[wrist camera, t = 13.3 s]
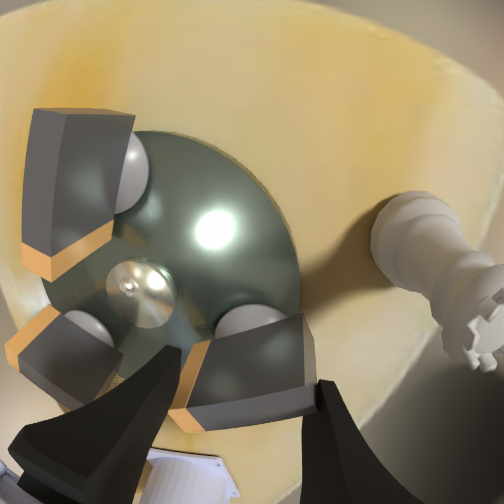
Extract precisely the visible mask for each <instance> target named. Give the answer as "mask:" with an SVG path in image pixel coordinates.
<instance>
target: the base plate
mask: <svg viewBox="0 0 504 504" xmlns="http://www.w3.org/2000/svg"><path fill="white" fill-rule="evenodd" d="M134 133H135V134H136V135H137V136H138V137H139V139H140V140H141V141H142V143H143V145H144V147H145V149H146V151H147V155H148V159H149V168H150V171H149V180H148V184H147V187H146V189H145V192H144V194H143V195H142V197H141V198H140V200H139V201H138V202H137V203H136V204H135V205H134V206H132V207H131V208H129V209H128V210H126V211H124V212H121V213H118V214H114V219H113V220H114V223H113V230H112V237H111V240H110V241H108V242H107V243H105V244H104V245H102V246H101V247H99V248H98V249H97V250H95V251H94V252H92V253H91V254H90V255H88V256H87V257H85V258H84V259H83V260H81V261H80V262H78V263H77V264H76V265H74V266H73V267H72V268H70V269H69V270H68V271H66V272H65V273H64V274H62V275H61V276H60V277H58V278H57V279H56V280H54V281H53V282H52V283H51V282H49V281H48V280H46V279H44V278H42V277H41V279H42V282H43V285H44V288H45V290H46V293H47V296H48V298H49V300H50V302H51V304H52V306H53V308H55V309H56V310H57V311H59V312H60V313H61V314H62V315H65V314H66V313H67V312H68V311H70V310H74V309H78V310H83V311H85V312H88V313H89V314H91V315H93V316H94V317H96V318H97V319H98V320H99V321H100V322H101V323H102V324H103V325H104V326H105V327H106V328H107V330H108V331H109V332H110V334H111V336H112V338H113V340H114V343H115V347H116V350H118V351H119V352H121V353H123V354H124V356H123V359H122V363H121V366H120V369H119V371H118V373H117V375H119V376H121V377H123V378H125V379H128V378H129V377H130V376H132V375H133V374H134V373H135V372H136V371H138V370H139V369H140V368H141V367H142V366H144V365H145V364H146V363H147V362H148V361H149V360H150V359H152V358H153V357H154V356H155V355H156V354H157V353H158V352H159V351H160V350H161V349H162V348H163V347H164V346H165V345H171V346H174V347H177V348H181V349H182V354H181V368H180V374H181V372H182V369H183V367H184V365H185V362H186V360H187V358H188V356H189V353H190V351H191V349H192V347H193V344H197V343H201V342H205V341H209V340H214V339H215V332H216V328H217V325H218V323H219V321H220V319H221V318H222V317H223V315H224V314H225V313H227V312H228V311H229V310H231V309H233V308H235V307H237V306H240V305H244V304H264V305H269V306H272V307H274V308H277V309H279V310H280V311H282V312H284V313H285V314H286V315H288V316H289V317H292V316H295V315H298V311H299V304H300V269H299V262H298V256H297V250H296V246H295V243H294V240H293V237H292V234H291V231H290V228H289V226H288V224H287V222H286V220H285V218H284V216H283V214H282V212H281V210H280V208H279V206H278V205H277V203H276V202H275V200H274V199H273V197H272V196H271V195H270V193H269V192H268V190H267V189H266V188H265V187H264V186H263V185H262V183H261V182H260V181H259V180H258V179H257V178H256V177H255V176H254V175H253V174H252V173H251V172H250V171H249V170H248V169H247V168H245V167H244V166H243V165H242V164H241V163H239V162H238V161H237V160H236V159H235V158H233V157H232V156H230V155H228V154H227V153H225V152H223V151H222V150H220V149H218V148H217V147H215V146H213V145H211V144H208V143H206V142H204V141H201V140H199V139H197V138H194V137H190V136H186V135H182V134H178V133H174V132H164V131H137V132H134Z"/></svg>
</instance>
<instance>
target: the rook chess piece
mask: <svg viewBox="0 0 504 504" xmlns="http://www.w3.org/2000/svg"><path fill="white" fill-rule="evenodd" d="M370 250H371V252H372V255H373V258H374V261H375V264H376V266H377V267H378V268H379V269H380V270H381V271H382V273H383V274H384V275H385V276H386V277H387V278H388V279H389V280H390V281H391V282H392V283H393V284H394V285H396V286H398V287H400V288H403V289H406V290H408V291H415V292H418V293H421V294H422V295H423V296H424V297H425V298H427V299H428V300H429V301H430V306H431V312H432V316H433V318H434V319H435V320H436V321H437V322H438V324H439V325H441V326H443V330H442V341H443V349H444V350H445V351H446V353H447V354H448V355H449V356H450V357H451V358H452V359H455V360H459V361H463V362H467V364H468V365H469V366H470V368H471V369H472V370H475V369H476V367H477V366H479V367H480V369H481V370H482V372H483V373H485V372H489V371H492V370H495V368H496V365H497V362H496V360H495V359H494V357H495V356H496V355H498V354H500V353H502V354H503V355H504V264H501V265H496V263H495V261H494V260H493V258H492V256H490V255H488V254H487V253H485V252H483V251H474V250H473V249H472V247H471V246H470V245H469V244H468V243H467V242H466V240H465V239H464V234H463V231H462V227H461V222H460V220H459V219H458V217H457V216H456V214H455V213H454V212H453V210H452V209H451V207H450V206H449V205H448V204H446V203H445V202H443V201H442V200H441V199H440V198H438V197H436V196H435V195H433V194H431V193H429V192H427V191H408V192H405V193H403V194H401V195H399V196H396V197H394V198H392V199H391V200H390V201H389V202H388V203H387V204H386V205H385V207H384V208H383V209H382V210H381V211H380V212H379V213H378V216H377V218H376V220H375V223H374V225H373V227H372V229H371V244H370Z"/></svg>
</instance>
